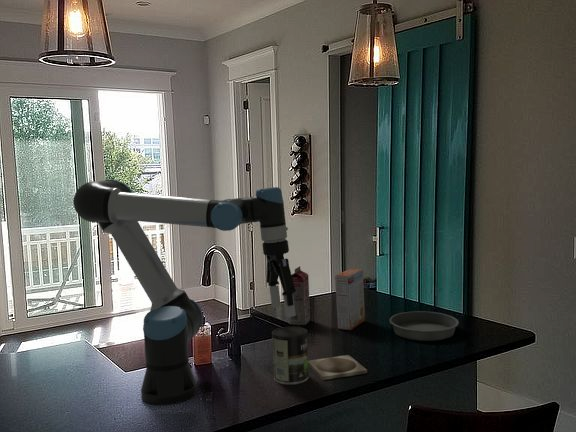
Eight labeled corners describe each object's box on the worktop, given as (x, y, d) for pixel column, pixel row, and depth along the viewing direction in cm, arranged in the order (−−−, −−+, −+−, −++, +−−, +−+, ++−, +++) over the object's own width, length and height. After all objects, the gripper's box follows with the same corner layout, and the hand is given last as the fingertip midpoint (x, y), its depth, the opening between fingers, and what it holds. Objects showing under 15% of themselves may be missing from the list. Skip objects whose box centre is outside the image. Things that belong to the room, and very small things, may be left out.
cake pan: (389, 342, 190) (389, 329, 190) (389, 322, 214) (389, 310, 214) (463, 343, 186) (463, 330, 186) (454, 322, 210) (454, 311, 210)
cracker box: (351, 319, 219) (350, 267, 217) (365, 321, 216) (364, 268, 214) (336, 329, 207) (334, 274, 205) (350, 331, 204) (349, 275, 202)
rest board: (322, 380, 158) (322, 376, 158) (307, 363, 172) (307, 360, 172) (367, 373, 162) (367, 369, 162) (348, 357, 176) (348, 354, 176)
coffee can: (311, 372, 165) (309, 326, 164) (305, 385, 155) (303, 337, 154) (278, 370, 167) (276, 325, 166) (270, 384, 157) (268, 336, 156)
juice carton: (289, 324, 216) (286, 269, 214) (294, 319, 222) (292, 265, 220) (305, 325, 214) (303, 269, 212) (310, 320, 220) (308, 266, 218)
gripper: (301, 242, 149) (310, 318, 151) (274, 235, 173) (282, 301, 174) (275, 246, 147) (284, 323, 148) (251, 238, 170) (259, 305, 172)
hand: (283, 311), depth 161 cm, fingers open, 13 cm apart
